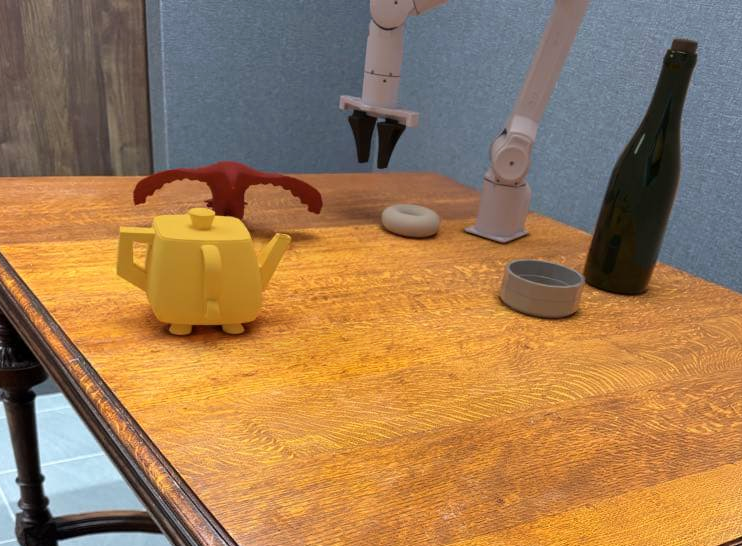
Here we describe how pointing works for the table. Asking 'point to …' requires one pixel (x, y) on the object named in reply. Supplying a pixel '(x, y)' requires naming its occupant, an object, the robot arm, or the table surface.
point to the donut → (410, 220)
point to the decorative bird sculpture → (229, 186)
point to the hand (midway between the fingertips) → (372, 165)
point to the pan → (541, 288)
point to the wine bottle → (643, 185)
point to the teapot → (200, 269)
